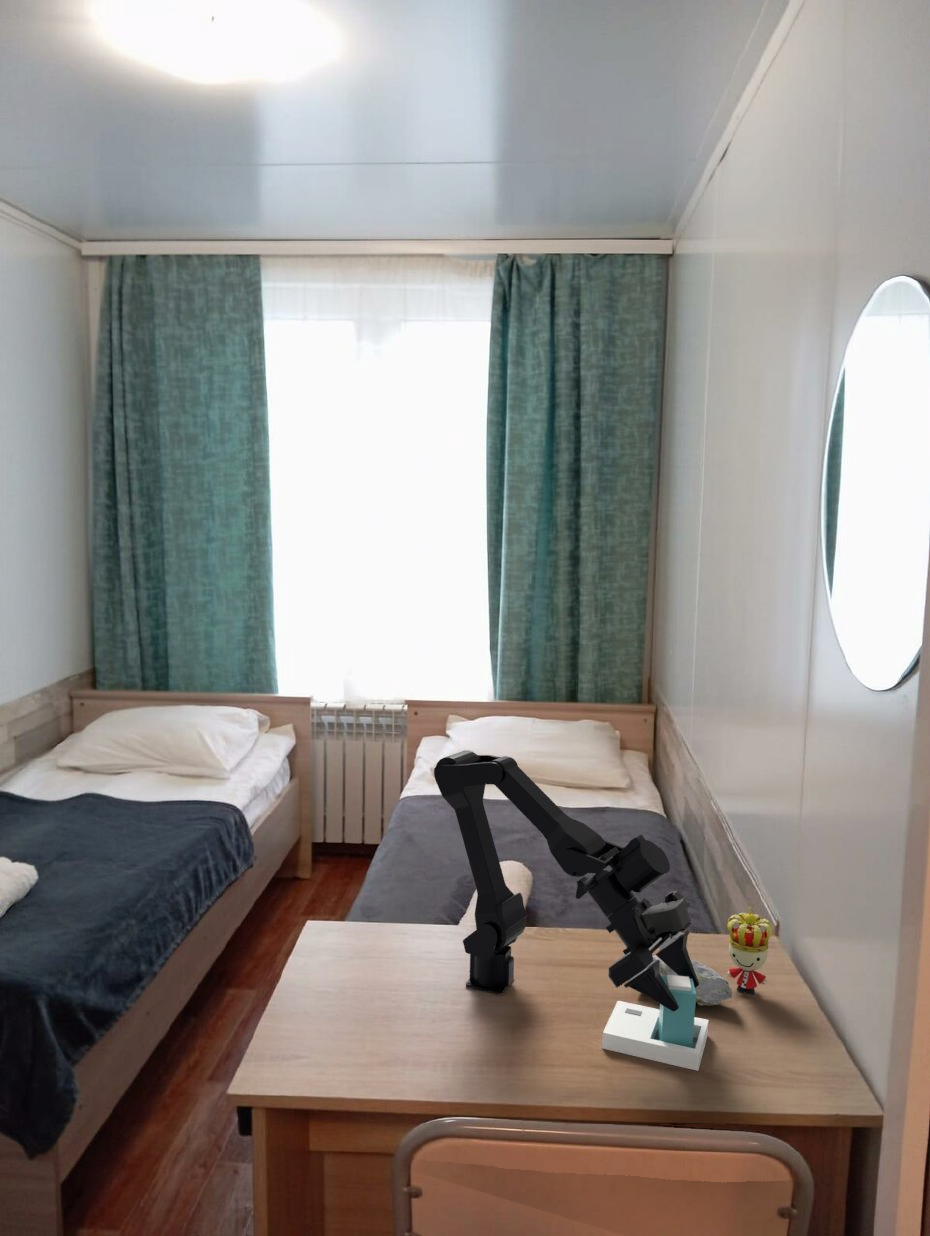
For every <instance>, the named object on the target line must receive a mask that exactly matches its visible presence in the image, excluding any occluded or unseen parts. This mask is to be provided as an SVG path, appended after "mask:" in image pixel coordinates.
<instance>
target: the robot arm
mask: <svg viewBox="0 0 930 1236" xmlns="http://www.w3.org/2000/svg"><path fill="white" fill-rule="evenodd" d="M518 765H519V764H518V763H517V761H516V760H515V759H514V758H513V757H510V756H507V755H503V756H496V755H492V754H476V753H475V752H474V751H473V750H465V749H464V750H462V751H459V752H457V753H453V754H450V755H448V756H444V757H442V758H440V759H439V760H438V761H437V763H436V765H435V767H434V768H433V776H434V777H433V778H434V780H435V782H436V784H437V787H438V789H439V792H440V794H441V796H442V798H443V799H444V800H445V801H446V802H447V803H448V804H449V805H450V807H451V808H452V809H453V811H454V813H455V816H456V820H457V824H458V827H459V832H460V835H461V839H462V842H463V846H464V849H465V853H466V857H467V860H468V863H469V868H470V871H471V874H472V875H471V876H472V878H473V882H474V886H475V890H476V894H477V895H476V903H475V909H474V920H475V921H474V922H475V930H474V931H472V932H471V933H469V935H467V936H466V937H465V938H464V939H462V944H463V948H464V951H465V954H468V955H469V979H468V980H467V981H465V987H467V988H470V989H473V990H474V989H476V990H480V991H484V992H489V993H493V994H497V995H502V994H504V992H505V991H506V990H507V988H508V987H509V986H510V985H511V984H512V982H513V980H514V978H515V975H514V972H515V971H514V970H515V969H514V967H515V958H514V956H512V946H510V945H511V944H514V943H515V942H517V939H518V937H519V936H521V935H522V934H523V933H524V931H525V930H526V927H527V917H529V913H528V912H527V910H526V908H525V904H524V898H523V894H522V893H521V892H517V893H515V894H514V893H513V891H512V890H511V889H510V888H509V887H508V885H507V883H506V882H505V881H506V880H505V878H504V874H503V871H502V870H503V869H502V867H501V862H500V859H499V856H498V853H497V849H496V844H495V842H494V838H493V834H492V830H491V827H490V823H489V820H488V817H487V812H486V809H485V806H484V798H485V797H484V796H485V789H486V785H494V786H495V787H496V788H497V790H499V791H500V792H501V793H502V794H503V796H505V798H507V800H509V801H510V803H512V805H514V807H515V808H516V809H517V810H518V811H519V812H520V813H521V814H522V815H523V817H524V818H526V819H527V820H528V822H530V823H531V824H532V825H533V827H535V828H536V829H537V830H538V831H539V833H540V834H541V835H542V837H544V839H545V841H546V843H547V846H548V849H549V852H550V854H551V856H552V857H553V859H554V861H556V863H557V864H558V866H559V867H560V869H561V870H562V871H563V872H564V873H565V874H566V875H568V876H570V877H571V878H572V877H575V878H576V877H577V878H579V879H578V880H576V891H575V898H576V899H577V900H579V899H581V898H583V897H584V896H585V895H587V894H588V895H589V897H590V898H591V899H592V901H593V902H594V904H595V905H596V906H597V908H598V909H599V911H600V912H601V914H602V915H603V916H604V918H605V919H606V921H607V922H608V923H609V924H608V925H607V926H606V927H605V929H606V930H607V931H608V933H609V934H611V933H612V932H615V933H616V935H618V937H619V939H620V940H621V941H622V943H623V944H624V946H625V948H624V949H623V950H622V953H623V954H624V955H622V956H621V957H619V958H618V959H617V960H616V961H615V962H614V963H613V964H612V965H611V966H609V967H608V978H609V979H610V981H611V982H612V984H613V985H614V986H615V988H616V989H617V988H619V987H620V986H622V985H623V986H624V988H626V989H627V988H631V989H632V990H634V991H636V992H638V993H640V994H642V995H644V996H646V997H648V998H649V999H651V1000H653V1001H655V1002H657V1003H658V1004H659V1005H660V1004H661V1005H663V1006H665V1007H666V1008H668V1009H670V1010H671V1011H676V1010H677V1009H678V1008H679V1006H678V1004H677V1002H676V1000H675V998H674V996H673V995H672V993H671V992H670V990H669V988H668V987H667V985H666V983H665V982H664V980H663V978H662V977H661V975H660V972H659V968H660V961H659V960H657V961H656V962H654V963H653V956H654V955H653V953H655V952H656V950H658V949H659V950H658V951H657V952H656V953H655V955H656V956H657V957H659V958H660V959H661V960H662V961H663V962H664V963H665V964H666V965H667V966H669V967H670V968H671V969H672V970H673V971H674V972H675V973H676V974H677V975H679V976H686V977H689V979H693V983H694V987H695V988H696V987H697V986H699V981H698V979H697V976H696V973H695V971H694V968H693V965H692V963H691V960H692V959H691V958H690V955H689V952H688V948H687V943H688V937H689V935H690V930H689V929H688V928H689V927H690V926H691V925H692V922H691V921H692V919H691V916H690V913H689V911H688V909H690V908H691V903H690V902H688V901H687V900H686V898H685V897H684V896H683V894H681V892H679V891H678V890H674V891H670V892H669V893H667V894H666V895H665V896H664V901H663V902H662V901H661V902H660V903H659V904H655V905H653V904H652V903H651V902H650V901H649V900H648V899H647V898H645V897H644V898H642V899H641V900H640V899H639V897H638V896H637V895H636V893H638V894H639V893H642V892H644V891H645V890H646V889H647V888H649V887H650V886H652V885H653V884H654V883H656V882H658V880H660V879H661V878H662V877H664V876H665V875H667V874H668V873H669V871H670V869H671V864H670V861H669V858H668V856H667V854H666V852H665V851H664V850H663V849H662V848H661V847H659V846H658V845H657V844H655V843H654V842H653V841H650V840H648V839H645V837H644V836H643V834H638V835H637V836H635V837H634V838H632V839H631V840H630V841H629V842H628V843H627V844H626V845H625V846H624V847H623V846H620V845H618V844H616V843H613V842H611V841H608V840H605V839H604V838H603V837H602V835H600V834H599V833H598V832H596V831H595V830H594V829H592V828H591V827H589V826H588V825H587V824H585V823H584V822H582V821H579V820H576V819H575V818H572V817H570V816H568V815H567V814H566V813H565V812H564V811H563V810H562V809H561V808H560V807H559V806H558V805H557V804H556V803H555V802H554V801H553V800H552V799H551V798H550V797H549V796H548V795H547V794H546V793H545V792H544V791H543V790H542V789H541V788H540V787H539V786H538V785H537V784H536V783H535V781H533V780H532V779H531V777H529V775H527V774H526V773H525V772H524V770H522V769H521V767H519V766H518ZM608 867H610V868H611V870H606V869H607V868H608ZM587 874H592V875H591V876H590V877H586V875H587ZM580 877H581V878H580ZM687 929H688V930H687ZM685 930H686V931H685ZM681 931H682V932H683V933H682V932H681ZM684 931H685V932H684ZM690 959H691V960H690Z"/></svg>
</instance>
